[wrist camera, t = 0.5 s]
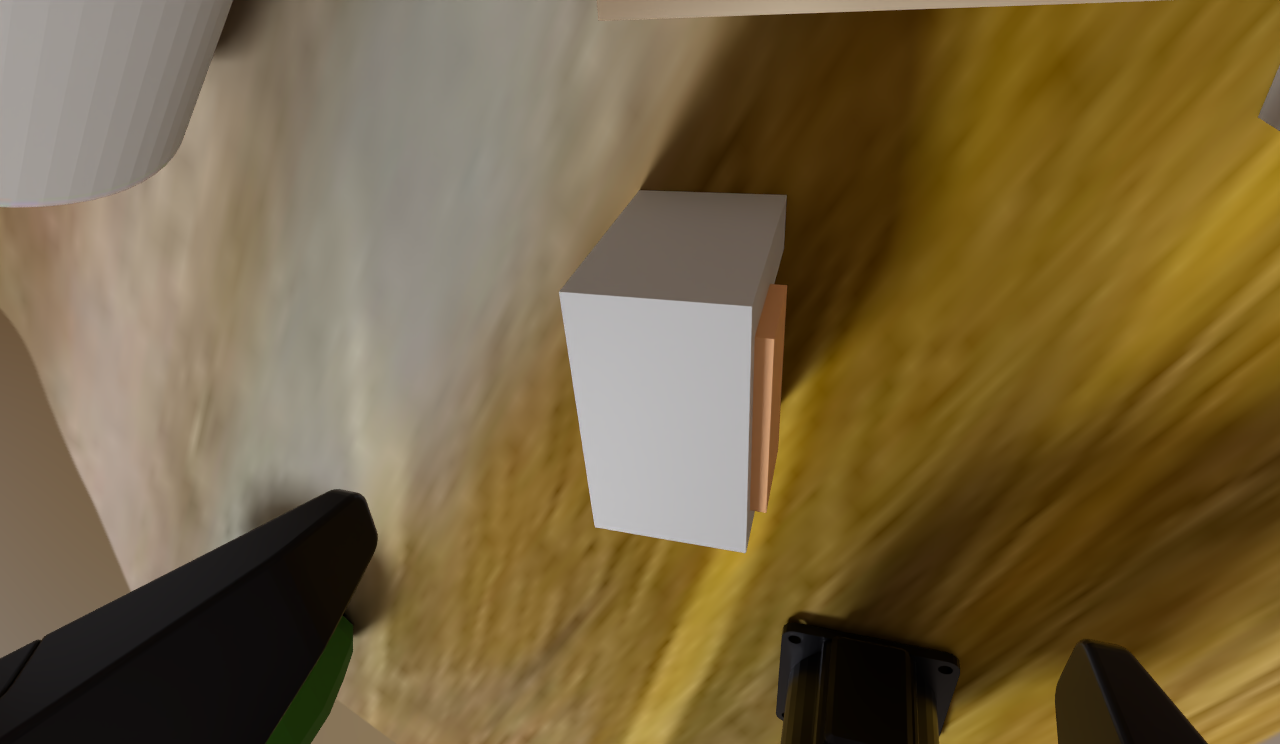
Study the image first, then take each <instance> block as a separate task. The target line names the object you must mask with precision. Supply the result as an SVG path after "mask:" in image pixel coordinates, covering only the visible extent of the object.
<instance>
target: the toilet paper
mask: <svg viewBox="0 0 1280 744" xmlns="http://www.w3.org/2000/svg"><path fill="white" fill-rule="evenodd" d="M232 2H233V0H0V207H44V206H55V205H66V204H73V203H79V202H85V201H90V200H94V199H98V198H102V197H106V196H110V195H113V194H116V193H119V192H121V191H124V190H127V189H129V188H131V187H133V186H136V185H138V184H140V183H142V182H144V181H145V180H147V179H148V178H150V177H151V176H153V175H155V174H156V173H157V172H158V171H160V170H161V169H162V168H163V167H164V166H165V165H166V164H167V163H168V162H169V161H170V160H171V159H172V158H173V156H174V155H175V154H176V152H177V150H178V149H179V147H180V145H181V143H182V140H183V138H184V135H185V132H186V129H187V127H188V124H189V121H190V118H191V116H192V113H193V110H194V107H195V104H196V102H197V99H198V96H199V93H200V91H201V88H202V85H203V82H204V79H205V77H206V74H207V71H208V68H209V66H210V63H211V60H212V57H213V54H214V52H215V49H216V46H217V43H218V41H219V38H220V35H221V32H222V29H223V27H224V24H225V21H226V18H227V16H228V13H229V10H230V7H231V5H232Z"/></svg>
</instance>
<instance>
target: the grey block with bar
mask: <svg viewBox="0 0 1280 744" xmlns="http://www.w3.org/2000/svg"><path fill="white" fill-rule="evenodd" d="M1130 1H1157V0H597V8H598V19H599V21H605V20H633V19H661V18H688V17H716V16H743V15H771V14H799V13H826V12H854V11H881V10H909V9H937V8H964V7H992V6H1019V5H1047V4H1075V3H1102V2H1130ZM1258 118H1260V119H1262V120H1263V121H1265V122H1266V123H1268V124H1269V125H1271V126H1273V127H1274V128H1276V129H1277V130H1279V131H1280V66H1279V69H1278V71H1277V73H1276V76H1275V78H1274V80H1273V83H1272V85H1271V88H1270V90H1269V92H1268V95H1267V97H1266V99H1265V102H1264V104H1263V107H1262V109H1261V111H1260V114H1259V116H1258Z"/></svg>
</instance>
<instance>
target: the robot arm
mask: <svg viewBox="0 0 1280 744" xmlns="http://www.w3.org/2000/svg"><path fill="white" fill-rule="evenodd" d="M377 541H378V534H377V530H376V528H375V525H374V522H373V519H372V516H371V513H370V510H369V507H368V504H367V502H366V499H365V498H364V497H363V496H362V495H361V494H359V493H356V492H351V491H346V490H341V489H334V490H331V491H328V492H326V493H324V494H322V495H320V496H318V497H316V498H314V499H313V500H311V501H309V502H307V503H305V504H303V505H301V506H299V507H297V508H295V509H293V510H291V511H289V512H287V513H285V514H283V515H281V516H279V517H277V518H275V519H273V520H271V521H269V522H267V523H265V524H263V525H261V526H260V527H258V528H256V529H254V530H252V531H250V532H248V533H246V534H244V535H242V536H240V537H238V538H236V539H234V540H232V541H230V542H228V543H226V544H224V545H222V546H220V547H218V548H216V549H214V550H212V551H210V552H208V553H207V554H205V555H203V556H201V557H199V558H197V559H195V560H193V561H191V562H189V563H187V564H185V565H183V566H181V567H179V568H177V569H175V570H173V571H171V572H169V573H167V574H165V575H163V576H161V577H159V578H157V579H155V580H153V581H152V582H150V583H148V584H146V585H144V586H142V587H140V588H138V589H136V590H134V591H132V592H130V593H128V594H126V595H124V596H122V597H120V598H118V599H116V600H114V601H112V602H110V603H108V604H106V605H104V606H103V607H100V608H98V609H96V610H95V611H93V612H91V613H89V614H87V615H85V616H83V617H81V618H79V619H77V620H75V621H73V622H71V623H69V624H67V625H65V626H63V627H61V628H59V629H57V630H55V631H53V632H51V633H49V634H47V635H46V636H44V638H43V639H42V640H36V641H33V642H32V643H30V644H27V645H26V646H24V647H22V648H20V649H18V650H16V651H14V652H12V653H10V654H8V655H6V656H4V657H2V658H0V744H266V742H267V741H268V739H269V737H270V736H271V734H272V733H273V731H274V730H275V728H276V726H277V725H278V723H279V722H280V720H281V718H282V717H283V715H284V714H285V712H286V710H287V709H288V707H289V706H290V704H291V703H292V701H293V699H294V698H295V696H296V695H297V693H298V691H299V690H300V688H301V687H302V685H303V684H304V682H305V680H306V679H307V677H308V676H309V674H310V672H311V671H312V669H313V668H314V666H315V665H316V663H317V661H318V660H319V658H320V656H321V655H322V653H323V651H324V649H325V648H326V646H327V644H328V642H329V640H330V639H331V637H332V635H333V633H334V631H335V629H336V627H337V625H338V623H339V621H340V619H341V617H342V615H343V613H344V611H345V609H346V607H347V605H348V603H349V601H350V599H351V598H352V596H353V594H354V592H355V590H356V588H357V586H358V584H359V582H360V580H361V578H362V576H363V574H364V572H365V570H366V568H367V566H368V564H369V562H370V560H371V558H372V556H373V554H374V552H375V549H376V546H377ZM959 675H960V664H959V659H958V658H957V657H956V656H954V655H953V654H950V653H947V652H941V651H936V650H931V649H926V648H921V647H916V646H911V645H906V644H901V643H895V642H890V641H885V640H880V639H875V638H870V637H865V636H860V635H855V634H849V633H844V632H839V631H834V630H829V629H824V628H819V627H814V626H808V625H803V624H798V623H788V624H786V625H784V627H783V632H782V641H781V655H780V668H779V681H778V694H777V708H776V715H777V717H778V718H779V719H781V720H783V729H782V737H781V744H939V736H940V733H941V730H942V727H943V724H944V721H945V717H946V714H947V711H948V708H949V705H950V702H951V699H952V696H953V693H954V690H955V687H956V684H957V681H958V678H959ZM1055 708H1056V721H1057V733H1058V744H1208V743H1207V742H1206V741H1205V740H1204V739H1203V737H1202V736H1201V735H1200V734H1199V733H1198V731H1197V730H1196V729H1195V728H1194V727H1193V725H1192V724H1191V723H1190V722H1189V721H1188V720H1187V718H1186V717H1185V716H1184V715H1183V714H1182V712H1181V711H1180V710H1179V709H1178V708H1177V707H1176V705H1175V704H1174V703H1173V702H1172V701H1171V699H1170V698H1169V697H1168V696H1167V695H1166V693H1165V692H1164V691H1163V690H1162V689H1161V688H1160V686H1159V685H1158V684H1157V683H1156V682H1155V680H1154V679H1153V678H1152V677H1151V676H1150V674H1149V673H1148V672H1147V671H1146V670H1145V669H1144V667H1143V666H1142V665H1141V664H1140V663H1139V661H1138V660H1137V659H1136V658H1135V657H1134V656H1133V654H1132V653H1131V652H1129V651H1128V650H1127V649H1125V648H1124V647H1122V646H1119V645H1115V644H1110V643H1105V642H1100V641H1095V640H1090V639H1083V640H1081V641H1079V642H1078V643H1077V645H1076V646H1075V648H1074V650H1073V652H1072V654H1071V656H1070V658H1069V660H1068V662H1067V664H1066V666H1065V668H1064V670H1063V672H1062V674H1061V676H1060V678H1059V681H1058V683H1057V687H1056V693H1055Z"/></svg>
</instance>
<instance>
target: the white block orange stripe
mask: <svg viewBox="0 0 1280 744" xmlns="http://www.w3.org/2000/svg"><path fill="white" fill-rule="evenodd" d="M786 200H787V195H770V194H740V193H709V192H678V191H648V190H639V191H638V193H637V194H636V195H635V196H634V198H633V199H632V200H631V202H630V203H629V204H628V205H627V207H626V208H625V209H624V210H623V212H622V213H621V214H620V215H619V217H618V218H617V219H616V220H615V222H614V223H613V224H612V226H611V227H610V228H609V229H608V231H607V232H606V233H605V234H604V236H603V237H602V238H601V239H600V241H599V242H598V243H597V245H596V246H595V247H594V248H593V250H592V251H591V252H590V253H589V255H588V256H587V257H586V258H585V260H584V261H583V262H582V263H581V265H580V266H579V267H578V269H577V270H576V271H575V272H574V274H573V275H572V276H571V277H570V279H569V280H568V281H567V282H566V284H565V285H564V286H563V288H562V289H561V290H560V291H559V295H560V301H561V308H562V314H563V321H564V328H565V334H566V341H567V347H568V354H569V360H570V367H571V374H572V380H573V387H574V393H575V400H576V406H577V413H578V420H579V426H580V433H581V439H582V446H583V452H584V459H585V466H586V472H587V479H588V485H589V492H590V498H591V505H592V512H593V518H594V525H595V527H597V528H603V529H609V530H614V531H620V532H626V533H632V534H638V535H644V536H649V537H655V538H661V539H667V540H673V541H678V542H684V543H690V544H696V545H702V546H708V547H713V548H719V549H725V550H731V551H737V552H743V553H746V550H747V546H748V541H749V536H750V531H751V526H752V521H753V517H754V512H755V511H758V512H765V513H766V511H767V506H768V500H769V495H770V490H771V484H772V479H773V474H774V468H775V463H776V458H777V452H778V441H779V423H780V406H781V388H782V370H783V352H784V334H785V317H786V299H787V285H777V284H774V283H775V280H776V276H777V272H778V269H779V265H780V261H781V258H782V254H783V250H784V239H785V220H786Z"/></svg>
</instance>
